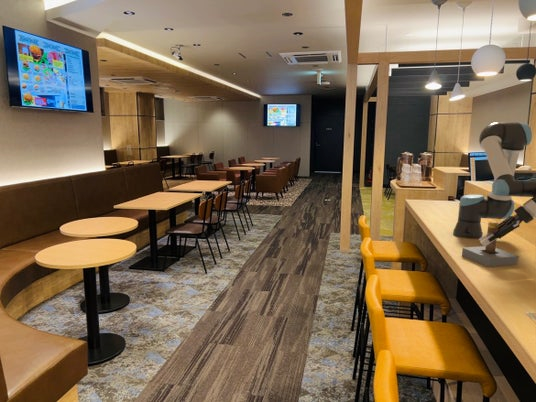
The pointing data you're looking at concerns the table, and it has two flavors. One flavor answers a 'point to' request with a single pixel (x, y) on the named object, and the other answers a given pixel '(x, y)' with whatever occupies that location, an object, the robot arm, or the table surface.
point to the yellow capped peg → (491, 228)
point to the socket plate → (490, 257)
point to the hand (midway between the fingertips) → (481, 243)
